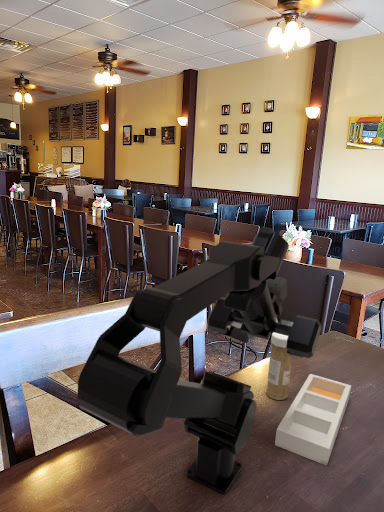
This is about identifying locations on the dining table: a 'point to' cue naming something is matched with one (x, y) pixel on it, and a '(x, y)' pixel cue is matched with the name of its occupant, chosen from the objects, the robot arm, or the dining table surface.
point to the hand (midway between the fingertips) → (269, 347)
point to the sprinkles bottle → (278, 368)
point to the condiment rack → (314, 419)
